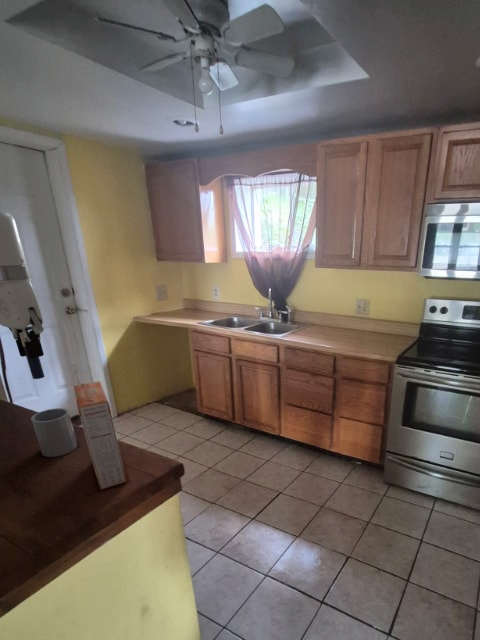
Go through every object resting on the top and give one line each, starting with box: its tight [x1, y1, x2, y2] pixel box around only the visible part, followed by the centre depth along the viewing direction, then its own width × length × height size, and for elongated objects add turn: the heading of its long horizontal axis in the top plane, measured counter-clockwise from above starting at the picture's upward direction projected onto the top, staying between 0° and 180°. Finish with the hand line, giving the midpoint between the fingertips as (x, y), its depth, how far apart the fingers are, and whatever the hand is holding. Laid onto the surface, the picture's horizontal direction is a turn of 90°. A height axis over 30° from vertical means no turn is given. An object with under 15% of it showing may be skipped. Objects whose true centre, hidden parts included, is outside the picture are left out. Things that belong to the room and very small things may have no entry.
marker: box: [19, 331, 45, 380], centre depth 88 cm, size 2×2×11 cm
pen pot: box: [30, 407, 78, 458], centre depth 97 cm, size 8×8×10 cm
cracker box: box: [73, 380, 128, 490], centre depth 85 cm, size 14×6×21 cm, turn 33°
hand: (32, 355), depth 88 cm, fingers closed on marker, 2 cm apart
